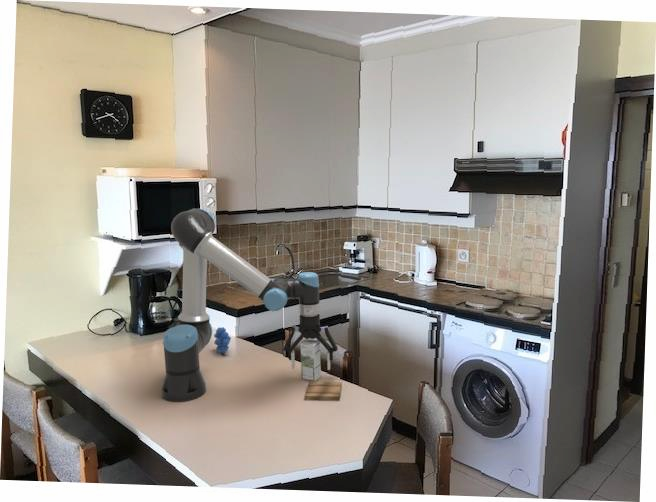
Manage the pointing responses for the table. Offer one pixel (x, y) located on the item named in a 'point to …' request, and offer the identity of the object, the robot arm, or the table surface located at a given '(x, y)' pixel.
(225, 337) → the grapes
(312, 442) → the table surface
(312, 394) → the square wooden board
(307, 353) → the syrup box
